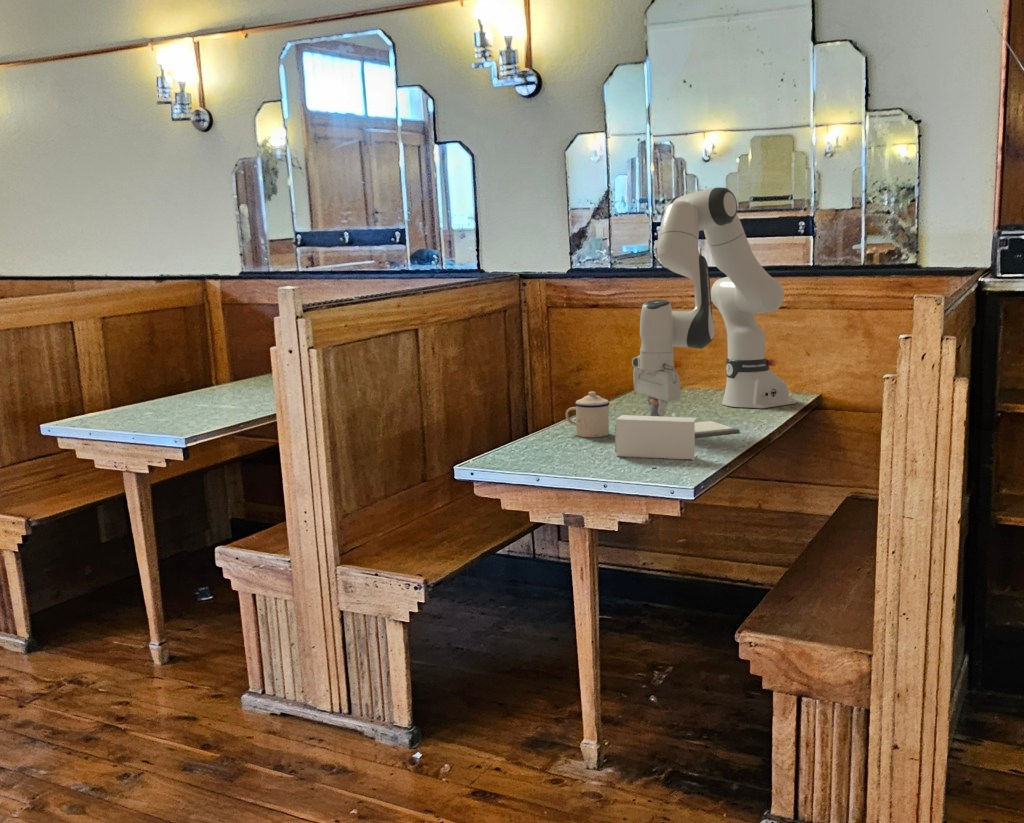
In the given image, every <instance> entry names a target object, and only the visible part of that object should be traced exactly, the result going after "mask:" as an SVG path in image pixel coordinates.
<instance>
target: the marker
mask: <svg viewBox="0 0 1024 823" xmlns="http://www.w3.org/2000/svg"><path fill="white" fill-rule="evenodd" d="M657 408H659V402H658V398H653V399H650V412H649V416H660V415H658V414H657ZM660 417H664V415H662V416H660Z"/></svg>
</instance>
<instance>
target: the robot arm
mask: <svg viewBox="0 0 1024 823" xmlns="http://www.w3.org/2000/svg"><path fill="white" fill-rule="evenodd" d="M737 202H738V201H737V198H736V197H735V194H734V193H733V192H732V191H731V190H730V189H728V188H727V187H713V188H709V189H701V190H696V191H693V192H691V193H687V194H684V195H682V196H676V197H673V198H671V199H669V200H668V201H667V202H666V203H665V205H664V206H663V210H662V215H661V216H662V219H661V222H660V227H659V232H658V236H657V243H656V254H657V258H658V259H659V261H660V264H661V265H663V267H665V268H666V269H667V270H668V271H671V272H673V273H674V274H678V275H680V276H683V277H685V278H688V279H690V280H691V281H692V282H693V288H694V289H693V292H694V294H693V295H694V309H692V310H673V308H672V305H671V304H672V303H671V302H670V301H668V300H665V299H652V300H648V301H645V302H644V303H643V304H642V306H641V310H640V311H641V312H640V319H639V337H640V340H641V343H640V349H639V355H637V356H635V357H633V358H632V360H631V364H632V367H633V371H632V373H633V374H632V376H633V377H632V378H633V389H634V391H635V393H638V394H641V395H645V399H646V402H647V406H648V412H649V413H650V399H653V398H658V402H659V408H657V414H658V415H660V416H662V415H663V416H666V412H667V411H666V410H667V407H668V404H669V403H670V402H678V401H680V399H681V397H682V392H681V379H680V375H679V373H678V371H677V370H676V369H675V365H674V359H675V358H674V353H675V352H674V347H675V348H676V347H677V348H679V347H680V348H691V349H700V350H702V349H704V348H705V347H707V346H708V345H709V344H711V343H712V341H714V337H715V336H714V335H715V323H714V318H713V309H712V304H713V305H714V306H715V307H716V308H717V309H718V312H719V313H720V315H721V317H722V320H723V323H724V326H725V330H726V338H727V340H726V341H727V357H726V360H725V373H726V381H725V382H726V383H725V390H724V395H723V399H722V402H721V404H722V405H723V406H727V407H733V408H734V407H735V408H746V409H747V408H751V409H752V408H754V409H767V408H768V409H769V408H775V407H780V406H787V405H793V404H794V405H795V404H796V403H797V399H795V398H794V397H790V396H789V388H788V387H789V386H788V385H787V382H786V381H785V380H783V379H782V378H781V377H779V376H778V375H777V374H775V373H774V372H773V371H772V370H770V368H771V367H776V365H777V361H776V359H772V358H770V359H769V358H766V356H765V354H766V348H765V347H766V335H765V332H764V329H762V327H760V325H759V324H758V323H757V321H756V318H755V314H759V315H760V314H768V313H772V312H776V311H777V310H779V309H780V307H781V306H782V305H783V302H784V299H785V291H784V290H785V289H784V287H783V285H782V284H781V283H780V281H779V280H777V279H775V278H774V277H772V275H770V273H768V272H767V271H766V270H765V268H764V267H763V266H762V265H761V264H760V262H759V261H758V259H757V257H756V256H755V255H754V253H753V250H752V248H751V246H750V242H749V241H748V238H747V235H746V233H745V230H744V227H743V225H742V221H741V220H740V218H739V215H738V214H737V212H738V203H737ZM701 231H703V233H704V237H705V240H706V243H707V245H708V248H709V251H710V254H711V257H712V259H713V261H714V264H715V266H716V268H717V269H718V270H719V271H720V272H721V273H724V274H725V275H726V276H725V277H721V278H718V279H717V280H715V282H713V285H712V286H711V280H710V271H709V264H708V261H707V259H706V257H705V256H703V255H702V254H701V253H700V251H699V237H700V236H699V235H700V232H701Z"/></svg>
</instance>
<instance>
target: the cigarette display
mask: <svg viewBox="0 0 1024 823" xmlns="http://www.w3.org/2000/svg"><path fill="white" fill-rule="evenodd" d="M697 421H698V417H685V416H684V417H682V416H681V417H680V416H663V417H660V416H650V415H629V414H627V415H626V414H625V415H624V414H622V415H620V416H619V417H617V418H616V419H615V422H616V423H615V425H614V447H615V448H614V452H615V453H616V457H623V458H638V459H639V458H641V459H643V458H644V459H659V458H661V460H679V459H692V460H694V459H696V458H697V457H698V454H697V453H695V442H696V440H695V439H696V437H695V423H696V422H697ZM696 456H697V457H696ZM695 457H696V458H695ZM662 458H664V459H662ZM665 458H666V459H665ZM667 458H668V459H667ZM692 460H691V461H692ZM694 461H695V460H694Z"/></svg>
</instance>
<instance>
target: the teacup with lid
mask: <svg viewBox="0 0 1024 823" xmlns="http://www.w3.org/2000/svg"><path fill="white" fill-rule="evenodd" d="M587 394H588V395H585V396H584V397H582V398H581V399H580V398H579V399H577V400H576V401H575V403H574V404H575V406H572V407H569V408H568V409H567V410H566V411H565V419H566V421H567V422H568V424H570V425H571V426H575V427H576V435H577V436H578V437H582V438H589V439H590V438H592V439H594V438H604V437H606V436H609V434H610V425H609V422H610V418H609V417H610V415H609V414H610V413H609V412H610V410H609V409H610V407H609V405H610V402H609V400H608V399H606V398H604V397H601V396H600V395H598V394H597V392H596V391H589V392H588V393H587ZM571 411H575V413H576V415H575V416H576V417H575V418H576V421H572V420H571V418H570V412H571Z"/></svg>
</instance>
